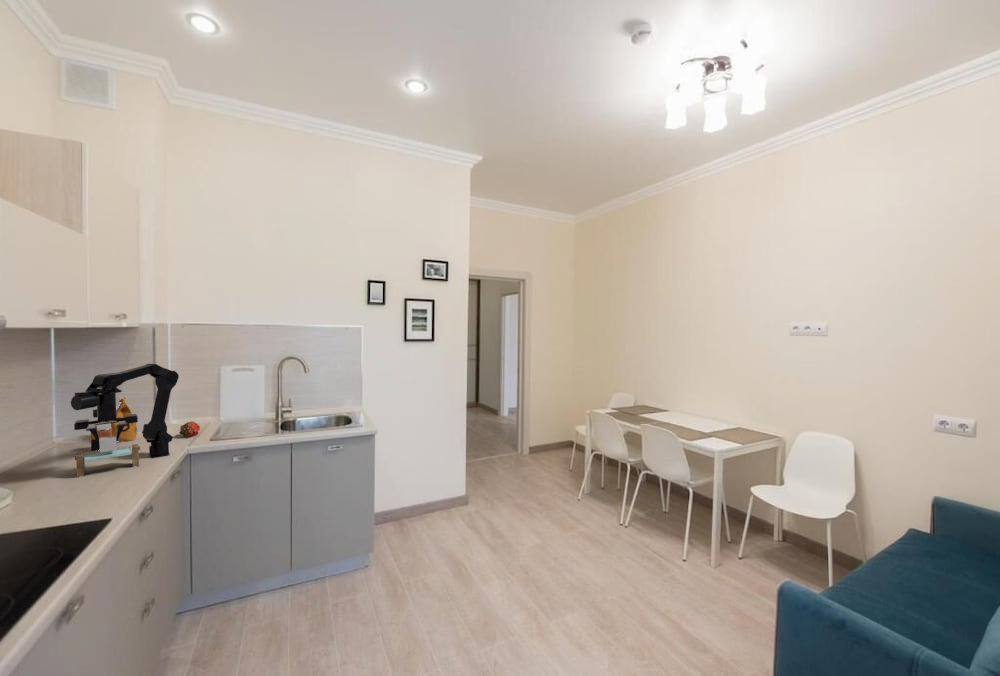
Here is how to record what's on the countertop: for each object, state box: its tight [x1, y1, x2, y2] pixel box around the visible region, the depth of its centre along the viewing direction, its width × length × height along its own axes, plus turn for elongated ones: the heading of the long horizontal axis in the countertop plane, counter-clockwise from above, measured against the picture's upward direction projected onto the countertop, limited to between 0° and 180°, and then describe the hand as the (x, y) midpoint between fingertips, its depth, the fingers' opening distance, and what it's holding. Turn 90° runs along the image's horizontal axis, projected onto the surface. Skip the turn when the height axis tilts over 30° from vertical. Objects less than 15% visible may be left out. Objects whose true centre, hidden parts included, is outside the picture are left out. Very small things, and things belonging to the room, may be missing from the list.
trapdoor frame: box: [74, 443, 141, 478], centre depth 172 cm, size 20×5×8 cm, turn 133°
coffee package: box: [110, 396, 138, 442], centre depth 213 cm, size 10×12×22 cm
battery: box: [90, 427, 112, 452], centre depth 197 cm, size 4×7×10 cm, turn 123°
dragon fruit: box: [178, 420, 201, 438], centre depth 221 cm, size 8×8×12 cm
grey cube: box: [99, 435, 118, 452], centre depth 170 cm, size 5×5×5 cm
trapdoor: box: [84, 445, 132, 462], centre depth 172 cm, size 14×11×3 cm
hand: (108, 442), depth 170 cm, fingers open, 5 cm apart
